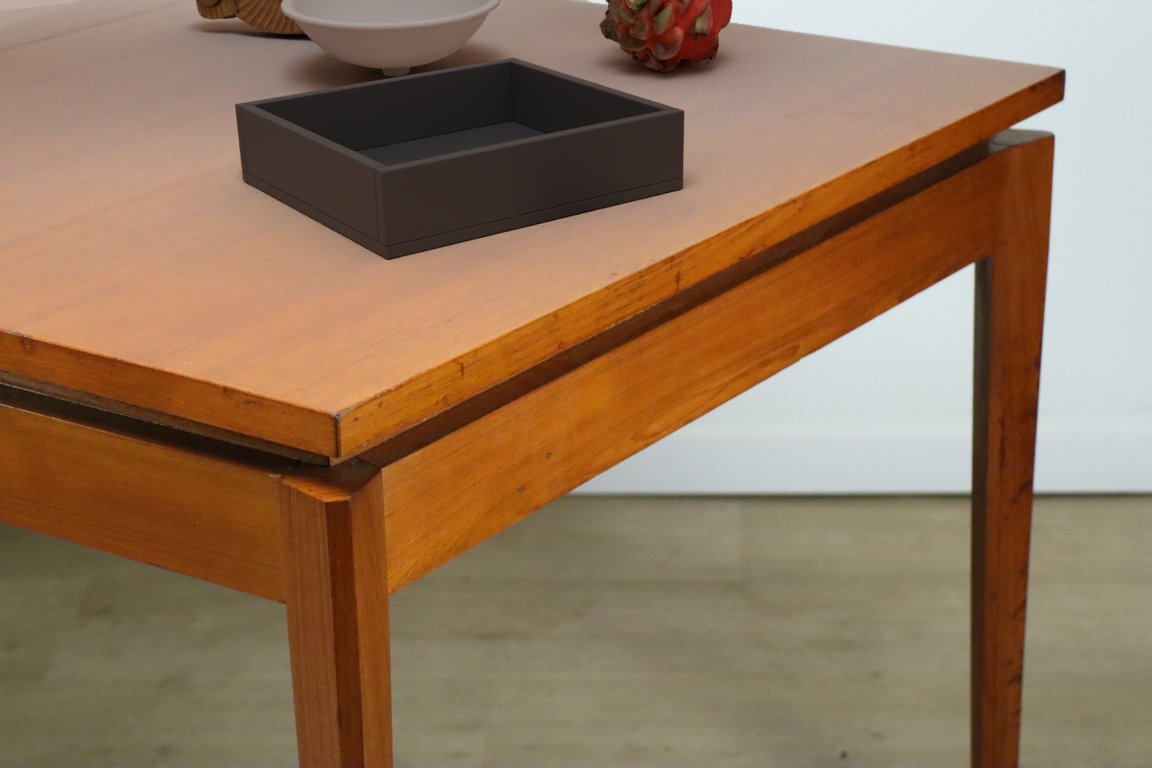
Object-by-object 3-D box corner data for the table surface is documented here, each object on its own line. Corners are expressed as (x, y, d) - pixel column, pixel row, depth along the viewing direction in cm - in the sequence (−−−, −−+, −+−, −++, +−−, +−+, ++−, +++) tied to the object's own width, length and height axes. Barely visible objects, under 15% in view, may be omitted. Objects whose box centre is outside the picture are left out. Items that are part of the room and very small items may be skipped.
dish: (302, 48, 110) (296, -23, 107) (501, 43, 110) (499, -27, 108) (272, 109, 94) (264, 27, 91) (505, 103, 94) (502, 22, 92)
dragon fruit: (640, 110, 98) (664, 93, 110) (750, 34, 96) (763, 24, 107) (566, -1, 97) (598, -6, 109) (675, -81, 95) (696, -78, 106)
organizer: (242, 180, 80) (234, 103, 78) (515, 126, 89) (514, 57, 87) (387, 259, 69) (381, 171, 67) (683, 188, 78) (685, 110, 76)
